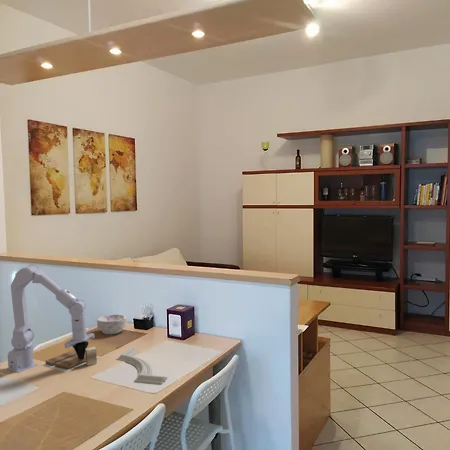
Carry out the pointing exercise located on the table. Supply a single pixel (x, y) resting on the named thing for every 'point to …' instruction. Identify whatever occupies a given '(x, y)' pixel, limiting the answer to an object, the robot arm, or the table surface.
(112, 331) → the paper bowls
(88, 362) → the block
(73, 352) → the laid plank
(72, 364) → the board
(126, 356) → the molding
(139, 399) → the table surface
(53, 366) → the underlay
